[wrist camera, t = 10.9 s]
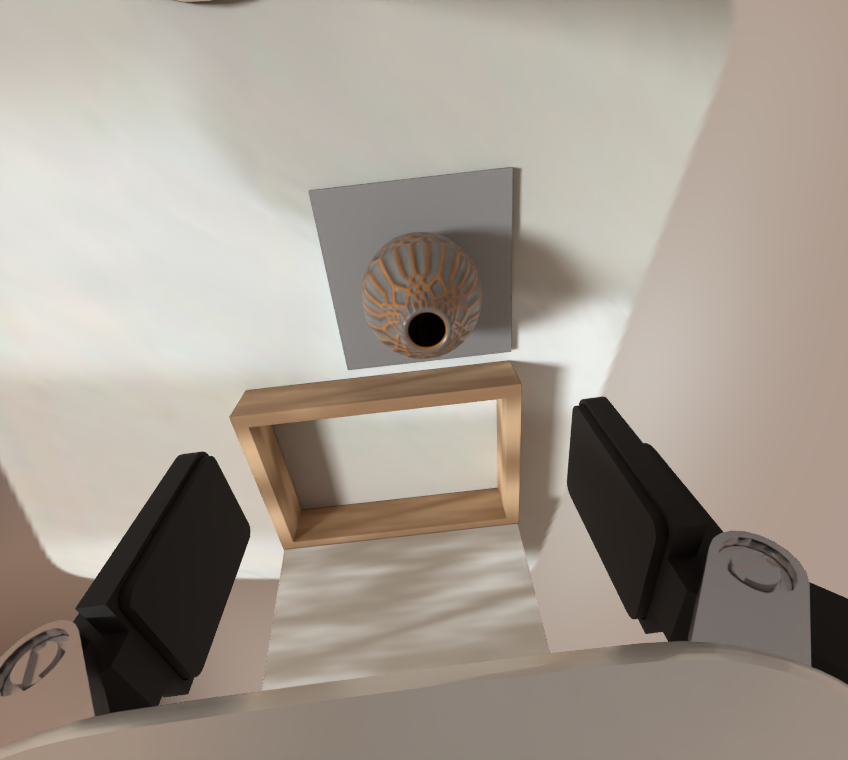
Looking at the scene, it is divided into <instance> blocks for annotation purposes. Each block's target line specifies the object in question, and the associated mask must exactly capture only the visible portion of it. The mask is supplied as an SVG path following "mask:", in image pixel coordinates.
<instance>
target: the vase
mask: <svg viewBox="0 0 848 760" xmlns="http://www.w3.org/2000/svg"><path fill="white" fill-rule="evenodd" d="M361 299H362V307H363V311H364V315H365V318H366V320H367V322H368V324H369V326H370V328H371V330H372V331H373V333H374V334H375V336H376V337H377V338H378V339H379V340H380V341H381V342H382V343H383V344H384V345H385V346H386V347H388V348H389V349H391V350H392V351H394V352H396V353H398V354H400V355H403V356H405V357H409V358H415V359H431V358H436V357H440V356H442V355H445V354H447V353H449V352H451V351H453V350H454V349H456V348H457V347H458V346H460V345H461V344H462V343H463V342H464V341H465V340H466V339H467V338H468V336H469V335H470V334H471V332H472V331H473V329H474V327H475V325H476V323H477V321H478V318H479V315H480V311H481V306H482V285H481V280H480V277H479V274H478V271H477V269H476V267H475V265H474V263H473V261H472V260H471V258H470V257H469V256H468V254H467V253H466V252H465V251H464V250H463V249H462V248H461V247H460V246H459V245H457V244H456V243H455V242H453V241H452V240H450V239H448V238H446V237H444V236H442V235H439V234H436V233H431V232H412V233H407V234H404V235H401V236H398V237H396V238H394V239H392V240H391V241H389V242H388V243H386V244H385V245H384V246H383V247H382V248H381V249H380V250H379V251H378V252H377V253H376V254H375V256H374V257H373V258H372V260H371V262H370V263H369V265H368V267H367V270H366V272H365V275H364V279H363V283H362V292H361Z"/></svg>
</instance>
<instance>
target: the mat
mask: <svg viewBox="0 0 848 760" xmlns="http://www.w3.org/2000/svg"><path fill="white" fill-rule="evenodd" d="M512 181H513V168H512V167H508V168H499V169H490V170H482V171H473V172H464V173H456V174H447V175H438V176H430V177H421V178H412V179H403V180H395V181H386V182H377V183H369V184H360V185H351V186H343V187H334V188H325V189H317V190H310V191H309V196H310V200H311V205H312V209H313V214H314V218H315V223H316V228H317V232H318V237H319V241H320V246H321V250H322V255H323V259H324V264H325V268H326V273H327V278H328V282H329V287H330V291H331V296H332V300H333V305H334V309H335V314H336V318H337V323H338V328H339V332H340V337H341V341H342V346H343V350H344V355H345V359H346V364H347V368H348V370H354V369H362V368H371V367H380V366H389V365H397V364H406V363H415V362H424V361H433V360H441V359H450V358H459V357H468V356H477V355H485V354H494V353H503V352H511V315H512ZM412 232H431V233H436V234H439V235H442V236H444V237H446V238H448V239H450V240H452V241H453V242H455V243H456V244H457V245H459V246H460V247H461V248H462V249H463V250H464V251H465V252H466V253H467V254H468V256H469V257H470V258H471V260H472V261H473V263H474V265H475V267H476V269H477V271H478V274H479V277H480V280H481V285H482V306H481V311H480V315H479V318H478V321H477V323H476V325H475V327H474V329H473V331H472V332H471V334H470V335H469V336H468V338H467V339H466V340H465V341H464V342H463V343H462V344H461V345H460V346H458V347H457V348H456V349H454V350H453V351H451V352H449V353H447V354H445V355H442V356H440V357H436V358H431V359H415V358H409V357H405V356H403V355H400V354H398V353H396V352H394V351H392V350H391V349H389V348H388V347H386V346H385V345H384V344H383V343H382V342H381V341H380V340H379V339H378V338H377V337H376V336H375V334H374V333H373V331H372V330H371V328H370V326H369V324H368V322H367V320H366V318H365V315H364V311H363V307H362V299H361V292H362V283H363V279H364V275H365V272H366V270H367V267H368V265H369V263H370V262H371V260H372V258H373V257H374V256H375V254H376V253H377V252H378V251H379V250H380V249H381V248H382V247H383V246H384V245H385V244H386V243H388V242H389V241H391V240H392V239H394V238H396V237H398V236H401V235H404V234H407V233H412Z"/></svg>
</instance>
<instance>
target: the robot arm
mask: <svg viewBox="0 0 848 760" xmlns="http://www.w3.org/2000/svg"><path fill="white" fill-rule="evenodd" d="M178 1H183V2H195V1H211V0H178ZM567 486H568V491H569V494H570V496H571V498H572V500H573V502H574V504H575V506H576V509H577V510H578V512H579V515H580V517H581V519H582V521H583V523H584V525H585V527H586V529H587V531H588V533H589V535H590V537H591V539H592V541H593V543H594V545H595V548H596V549H597V552H598V553H599V556H600V558H601V560H602V562H603V564H604V566H605V568H606V570H607V572H608V574H609V576H610V578H611V580H612V583H613V585H614V587H615V589H616V591H617V593H618V595H619V597H620V599H621V601H622V603H623V605H624V607H625V609H626V611H627V613H628V614H629V616H630V617H631V618H632V619H638V620H639V622H640V624H641V626H642V628H643V630H644V632H645V633H646V634H648V633H657V632H663V633H664V634H665V636H666V638H667V640H668V642H657V643H640V644H631V645H621V646H612V647H602V648H593V649H584V650H574V651H565V652H558V653H549V654H541V655H533V656H525V657H517V658H509V659H501V660H493V661H486V662H478V663H470V664H462V665H454V666H446V667H438V668H431V669H423V670H415V671H408V672H400V673H392V674H385V675H377V676H369V677H362V678H354V679H347V680H339V681H332V682H324V683H317V684H309V685H302V686H294V687H287V688H280V689H272V690H265V691H259V692H251V693H243V694H236V695H229V696H222V697H214V698H207V699H200V700H192V701H185V702H179V703H172V704H166V705H160V706H158V705H159V703H160V700H161V698H162V696H163V697H171V696H178V695H185V694H188V693H189V690H190V687H191V685H192V682H193V679H194V677H197V676H198V675H199V674H200V673H201V671H202V669H203V667H204V664H205V661H206V659H207V656H208V653H209V650H210V647H211V645H212V642H213V639H214V636H215V633H216V630H217V628H218V625H219V622H220V620H221V617H222V614H223V611H224V608H225V606H226V602H227V600H228V597H229V594H230V592H231V589H232V586H233V583H234V580H235V577H236V575H237V572H238V569H239V566H240V563H241V561H242V558H243V555H244V552H245V549H246V547H247V544H248V541H249V538H250V526H249V523H248V521H247V519H246V517H245V515H244V513H243V511H242V510H241V508H240V506H239V504H238V502H237V500H236V498H235V496H234V494H233V492H232V490H231V488H230V486H229V484H228V482H227V480H226V478H225V476H224V474H223V473H222V471H221V469H220V467H219V465H218V463H217V461H216V459H215V458H214V457H213V456H209V455H208V454H207V453H206V452H196V453H188V454H182V455H179V456H178V457H177V458H176V459H175V461H174V462H173V464H172V465H171V467H170V468H169V470H168V471H167V473H166V474H165V476H164V477H163V479H162V480H161V482H160V483H159V485H158V486H157V488H156V489H155V491H154V492H153V494H152V495H151V496H150V498H149V499H148V501H147V502H146V504H145V505H144V507H143V508H142V510H141V511H140V513H139V514H138V516H137V517H136V519H135V520H134V522H133V523H132V525H131V526H130V528H129V529H128V531H127V532H126V534H125V535H124V537H123V538H122V540H121V541H120V543H119V544H118V546H117V547H116V549H115V550H114V552H113V553H112V555H111V556H110V558H109V559H108V561H107V562H106V564H105V565H104V567H103V568H102V570H101V571H100V573H99V574H98V576H97V577H96V579H95V580H94V582H93V583H92V585H91V586H90V587H89V589H88V591H87V592H86V593H85V595H84V596H83V598H82V599H81V601H80V602H79V604H78V605H77V607H76V608H75V609H76V610H77V611H78V612H79V614H78V616H77V617H76V619H75V620H74V622H70V621H67V620H66V621H56V622H52V623H49V624H46V625H44V626H42V627H40V628H38V629H36V630H34V631H32V632H31V633H29V634H28V635H26V636H25V637H23V638H22V639H21V640H19V641H18V642H16V643H15V644H14V645H13V646H12V647H11V648H10V649H9V650H8V651H7V652H6V653H5V654H3V655H2V657H1V658H0V760H848V599H847V598H845V597H843V596H840V595H838V594H835V593H833V592H831V591H829V590H826V589H824V588H822V587H819V586H817V585H814V584H812V583H810V582H809V580H808V576H807V573H806V571H805V570H804V568H803V567H802V565H801V563H800V562H799V561H798V560H797V559H796V558H795V557H794V556H793V555H792V554H791V553H790V552H789V551H788V550H786V549H785V548H783V547H782V546H780V545H778V544H777V543H775V542H774V541H771V540H769V539H767V538H765V537H763V536H760V535H757V534H753V533H749V532H745V531H728V532H723V531H722V530H721V529H720V527H719V526H718V525H717V524H716V523H715V521H714V520H713V519H712V518H711V517H710V515H709V514H708V513H707V512H706V510H705V509H704V508H703V507H702V506H701V504H700V503H699V502H698V501H697V500H696V498H695V497H694V496H693V495H692V494H691V492H690V491H689V490H688V489H687V487H686V486H685V485H684V484H683V483H682V482H681V480H680V479H679V478H678V477H677V476H676V474H675V473H674V472H673V471H672V470H671V468H670V467H669V466H668V464H667V463H666V462H665V461H664V460H663V458H662V457H661V456H660V455H659V454H658V452H657V451H656V450H655V449H654V448H653V447H652V446H651V445H649V444H647V443H642V441H641V440H640V439H639V438H638V436H637V435H636V434H635V433H634V431H633V430H632V429H631V428H630V427H629V425H628V424H627V423H626V421H625V420H624V419H623V418H622V417H621V415H620V414H619V413H618V411H617V410H616V409H615V408H614V406H613V405H612V404H611V403H610V402H609V400H608V399H607V398H606V397H596V398H589V399H582V400H581V401H580V403H579V406H574V408H573V412H572V425H571V437H570V450H569V463H568V475H567Z"/></svg>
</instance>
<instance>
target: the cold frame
mask: <svg viewBox="0 0 848 760" xmlns="http://www.w3.org/2000/svg"><path fill="white" fill-rule="evenodd" d="M521 389H522V384H521V382H520V380H519V378H518V376H517V374H516V372H515V370H514V368H513V366H512V364H511V362H510V361H501V362H492V363H484V364H475V365H466V366H457V367H448V368H440V369H431V370H422V371H413V372H404V373H396V374H387V375H378V376H369V377H360V378H352V379H343V380H334V381H325V382H316V383H308V384H299V385H290V386H281V387H273V388H264V389H255V390H246V391H245V393H244V394H243V396H242V397H241V399H240V401H239V402H238V404H237V405H236V407H235V409H234V410H233V412H232V414H231V415H230V417H229V418H230V420H231V423H232V425H233V428H234V430H235V433H236V435H237V437H238V440H239V442H240V445H241V447H242V449H243V452H244V454H245V457H246V459H247V462H248V464H249V466H250V469H251V471H252V474H253V476H254V479H255V481H256V483H257V486H258V488H259V491H260V493H261V496H262V498H263V500H264V503H265V505H266V508H267V510H268V513H269V515H270V517H271V520H272V522H273V525H274V527H275V529H276V532H277V534H278V537H279V539H280V542H281V544H282V546H283V549H284V557H283V563H282V569H281V575H280V582H279V588H278V593H277V600H276V606H275V612H274V618H273V624H272V630H271V637H270V643H269V649H268V655H267V661H266V668H265V674H264V679H263V686H262V691H265V690H272V689H280V688H287V687H294V686H302V685H309V684H317V683H324V682H332V681H339V680H347V679H354V678H362V677H369V676H377V675H385V674H392V673H400V672H408V671H415V670H423V669H431V668H438V667H446V666H454V665H462V664H470V663H478V662H486V661H493V660H501V659H509V658H517V657H525V656H533V655H541V654H549V653H550V651H549V647H548V643H547V639H546V635H545V631H544V627H543V623H542V619H541V615H540V611H539V607H538V603H537V599H536V595H535V591H534V588H533V583H532V579H531V575H530V571H529V567H528V563H527V559H526V555H525V551H524V547H523V543H522V539H521V535H520V531H519V527H518V522H519V478H520V434H521ZM495 399H497V451H498V488H494V489H485V490H476V491H467V492H458V493H449V494H440V495H431V496H423V497H414V498H405V499H396V500H387V501H378V502H369V503H360V504H352V505H343V506H334V507H325V508H316V509H307V510H301V507H300V504H299V501H298V498H297V495H296V493H295V490H294V487H293V484H292V481H291V478H290V476H289V473H288V470H287V467H286V464H285V461H284V459H283V456H282V453H281V450H280V447H279V444H278V442H277V439H276V436H275V433H274V430H273V427H272V425H274V424H283V423H292V422H301V421H309V420H318V419H327V418H336V417H345V416H354V415H362V414H371V413H380V412H389V411H398V410H406V409H415V408H424V407H433V406H442V405H451V404H459V403H468V402H477V401H486V400H495Z"/></svg>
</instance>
